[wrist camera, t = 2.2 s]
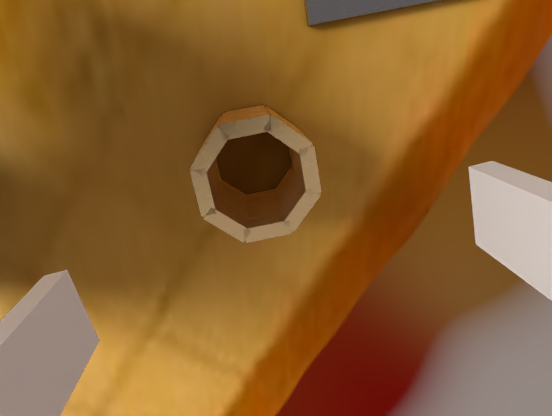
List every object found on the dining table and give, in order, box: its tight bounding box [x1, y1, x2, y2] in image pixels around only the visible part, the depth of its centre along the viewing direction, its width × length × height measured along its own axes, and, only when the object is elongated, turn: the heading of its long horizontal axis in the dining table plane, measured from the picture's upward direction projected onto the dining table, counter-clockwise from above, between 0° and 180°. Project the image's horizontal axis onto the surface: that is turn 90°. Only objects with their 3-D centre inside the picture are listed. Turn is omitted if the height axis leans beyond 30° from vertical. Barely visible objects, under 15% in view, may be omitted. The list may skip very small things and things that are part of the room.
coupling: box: [190, 105, 322, 243], centre depth 31 cm, size 8×8×8 cm
